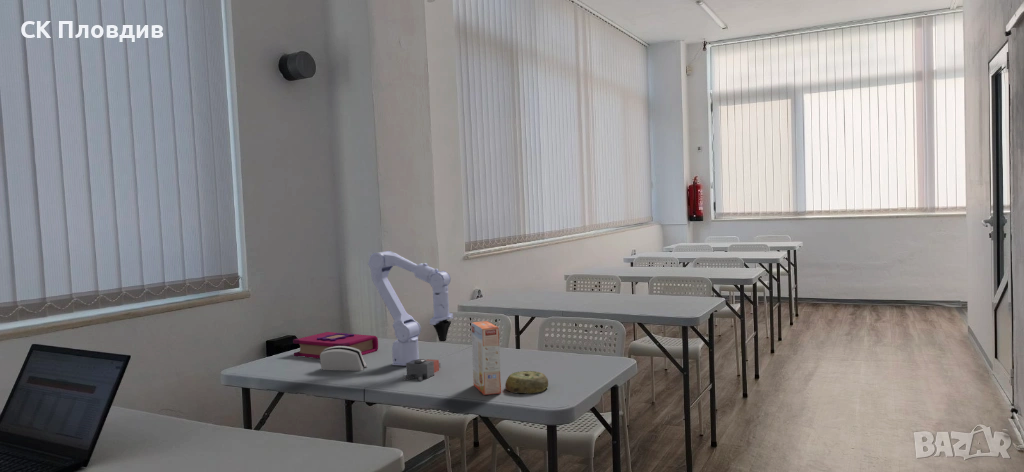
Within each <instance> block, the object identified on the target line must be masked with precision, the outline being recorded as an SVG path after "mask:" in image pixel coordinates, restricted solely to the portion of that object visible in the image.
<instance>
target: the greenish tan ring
mask: <svg viewBox="0 0 1024 472" xmlns="http://www.w3.org/2000/svg"><path fill="white" fill-rule="evenodd" d="M548 386H549V379H548V377H547V376H546V375H545V374H544V372H541V371H534V370H522V371H516V372H512V373H511V374H509V375H508V377H507V379H506V381H505V389H506V390H507V391H508V392H510V393H513V394H514V393H515V394H517V393H519V394H520V393H521V394H527V395H528V394H529V395H530V394H537V393H542V392H544V391H545V390H547V388H548Z"/></svg>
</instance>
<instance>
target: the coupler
mask: <svg viewBox="0 0 1024 472" xmlns="http://www.w3.org/2000/svg"><path fill="white" fill-rule="evenodd" d="M426 360H427V359H424V358H419V359H417V360H412V361H410V362H408V363H406V374H405V375H403V380H404V379H405V380H404V381H407V379H408V380H411V378H412V379H418V381H419V382H421V381H423V379H424V380H425V379H426V380H427V379H428V380H429V379H430V378H432V377H433V376H435V373H434V361H426ZM441 368H442V367H441V362H439V369H441Z"/></svg>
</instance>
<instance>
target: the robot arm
mask: <svg viewBox="0 0 1024 472" xmlns="http://www.w3.org/2000/svg"><path fill="white" fill-rule="evenodd" d="M367 265H368V267H369V269H370V275H371V282H372V283H373V285H374V286H375V288H376V290H377V293H379V296H380V297H381V299H382V301H383V303H384V304H385V306H386V308H387V310H388V313H389V314H390V315H391V317H392V319H393V323H392V328H393V330H394V335H395V338H396V340H394V342H392V345H391V352H392V353H391V354H392V362H391V366H406V363H408V362H410V361H412V360H417V359H420V353H419V335H420V334H421V332H422V327H421V325H420V323H419V322H418V321H417V320H415V318H414V317H413V316H412V315H411V314H409V313H408V312H407V311H406V309H405V307H404V305H403V304H402V302H401V300H400V298H399V296H398V294H397V293H396V291H395V289H394V288H393V285H392V284H391V281H390V280H389V279H388V277H389V273H390V271H391V270H392V268H393V267H394V266H396V267H398V268H401V269H404V270H405V271H409V272H411V273H413V274H414V277H415V278H416V279H419V280H421V281H423V282H426V283H427V284H429V285H430V287H432V301H433V303H432V305H433V316H432V317H431V318H430V319H429V325H431V326H433V328H434V329H435V332H436V334H437V337H438V341H439V342H446V341H447V337H448V332H449V329H450V327H451V325H452V319H454V313H451V312H450V297H449V296H450V295H449V285H450V283H451V279H452V278H451V275H450V274H449V273H448V272H447V271H446V270H439V268H437V267H436V268H434V267H432V266H429V264H428V263H427V262H424V263H422V262H421V263H418V264H417V263H415V262H413V261H412V260H410V259H408V258H405V257H403V256H402V255H400V254H399V253H396V252H394V251H391V250H385V251H380V252H378V251H377V252H373V253H372V254H371V255H370V256H369V259H368V262H367Z"/></svg>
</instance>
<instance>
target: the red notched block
mask: <svg viewBox="0 0 1024 472" xmlns="http://www.w3.org/2000/svg"><path fill="white" fill-rule="evenodd" d="M425 360H426V361H434V374H435V373H438V372H439V371H440V368H439V363H440V360H439V359H425Z"/></svg>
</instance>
